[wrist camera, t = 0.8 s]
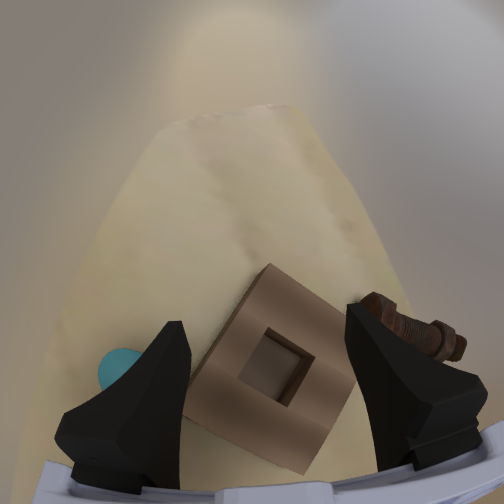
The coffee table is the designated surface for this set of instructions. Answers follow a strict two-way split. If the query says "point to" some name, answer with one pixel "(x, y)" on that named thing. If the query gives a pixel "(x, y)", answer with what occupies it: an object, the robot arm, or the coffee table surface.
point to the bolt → (417, 330)
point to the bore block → (275, 373)
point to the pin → (116, 365)
